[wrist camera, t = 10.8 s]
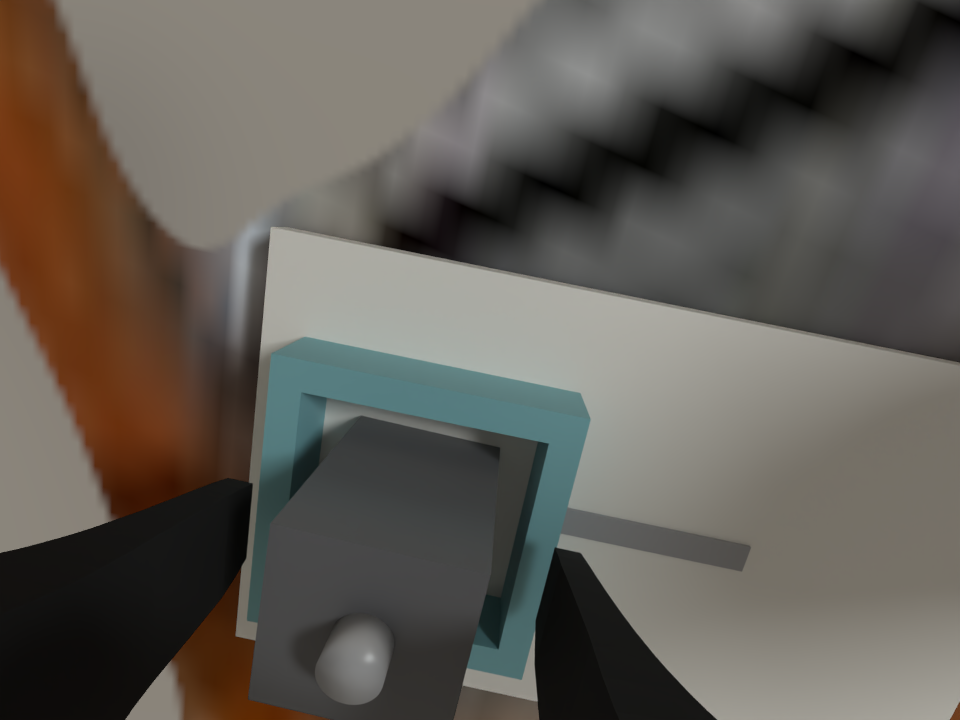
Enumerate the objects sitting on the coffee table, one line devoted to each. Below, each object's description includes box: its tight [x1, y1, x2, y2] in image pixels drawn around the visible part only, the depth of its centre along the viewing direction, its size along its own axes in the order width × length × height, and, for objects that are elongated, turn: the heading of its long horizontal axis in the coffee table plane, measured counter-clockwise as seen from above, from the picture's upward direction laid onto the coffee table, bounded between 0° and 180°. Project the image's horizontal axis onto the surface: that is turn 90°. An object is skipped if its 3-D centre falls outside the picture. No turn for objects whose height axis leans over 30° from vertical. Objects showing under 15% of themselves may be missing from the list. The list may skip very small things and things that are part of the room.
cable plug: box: [248, 416, 500, 720], centre depth 12 cm, size 4×4×6 cm
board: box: [236, 227, 960, 720], centre depth 14 cm, size 22×13×3 cm, turn 79°
